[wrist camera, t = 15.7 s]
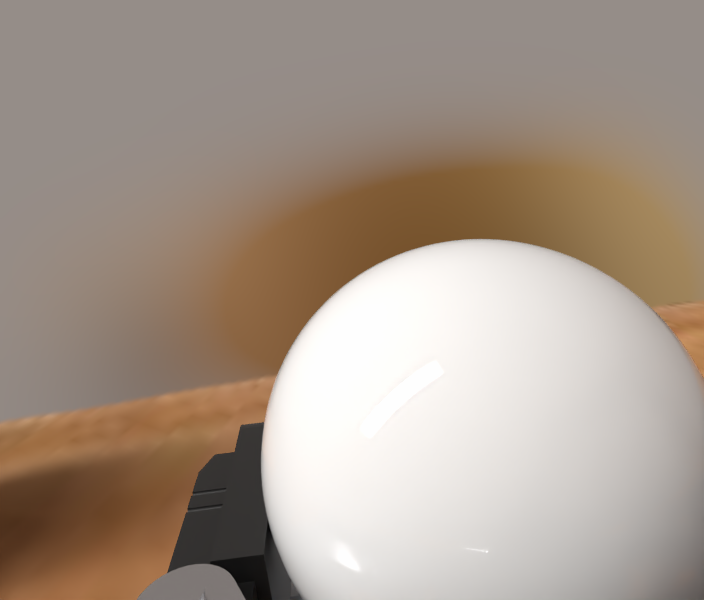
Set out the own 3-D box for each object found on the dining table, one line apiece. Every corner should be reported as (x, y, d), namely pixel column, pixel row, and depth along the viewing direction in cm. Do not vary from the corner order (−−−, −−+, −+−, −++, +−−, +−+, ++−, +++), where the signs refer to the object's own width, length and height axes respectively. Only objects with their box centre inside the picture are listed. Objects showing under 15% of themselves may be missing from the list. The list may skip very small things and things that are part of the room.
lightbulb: (378, 627, 15) (333, 210, 11) (649, 691, 12) (695, 196, 9) (263, 957, 9) (107, 322, 6) (719, 1177, 7) (907, 356, 3)
